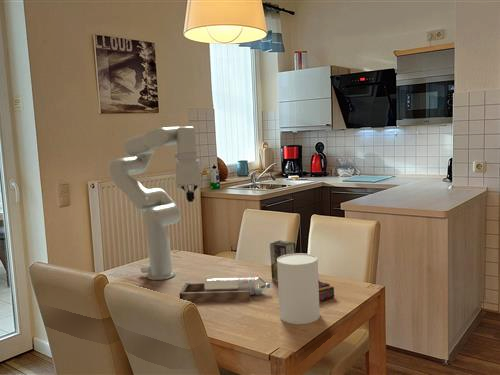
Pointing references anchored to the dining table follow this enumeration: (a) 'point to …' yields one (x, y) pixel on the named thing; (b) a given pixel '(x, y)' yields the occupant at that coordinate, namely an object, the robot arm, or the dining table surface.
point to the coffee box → (279, 254)
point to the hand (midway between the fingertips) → (190, 201)
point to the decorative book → (325, 291)
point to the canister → (298, 288)
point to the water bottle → (236, 285)
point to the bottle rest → (211, 294)
